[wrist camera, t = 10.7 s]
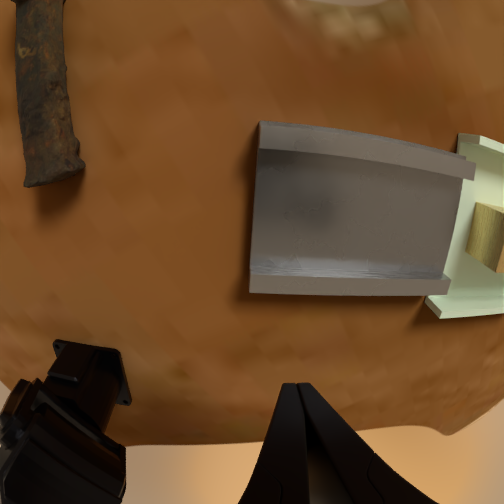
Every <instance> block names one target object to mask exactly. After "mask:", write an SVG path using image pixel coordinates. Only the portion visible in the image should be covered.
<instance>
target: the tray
mask: <svg viewBox="0 0 504 504" xmlns="http://www.w3.org/2000/svg"><path fill="white" fill-rule="evenodd" d="M457 154H459V155H462V156H466V160H467V161H470V162H474V163H476V170H475V177H474V181H471V180H467V179H463V184H462V191H461V197H460V202H459V208H458V213H457V218H456V222H455V227H454V232H453V236H452V240H451V244H450V249H449V252H448V256H447V260H446V264H445V268H444V271H443V273H444V274H445V275H446V276H447V277H449V278H450V279H451V283H450V286H449V289H448V293H447V295H427V296H426V299H425V303H426V304H427V306H428V307H429V308H430V309H431V310H432V311H433V312H434V313H435V314H436V315H437V316H438V318H439V319H442V318H456V317H468V316H480V315H490V314H500V313H504V273H495V272H494V271H492V270H491V269H490V268H488V267H487V266H485V265H484V264H482V263H481V262H480V261H478V260H477V259H475V258H474V257H472V256H471V255H469V254H468V253H466V252H465V249H466V245H467V241H468V237H469V233H470V228H471V224H472V219H473V214H474V209H475V204H476V202H480V203H485V204H490V205H495V206H499V207H504V144H501V143H499V142H496V141H494V140H491V139H489V138H486V137H483V136H481V135H473V134H463V133H459V134H458V145H457Z"/></svg>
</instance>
